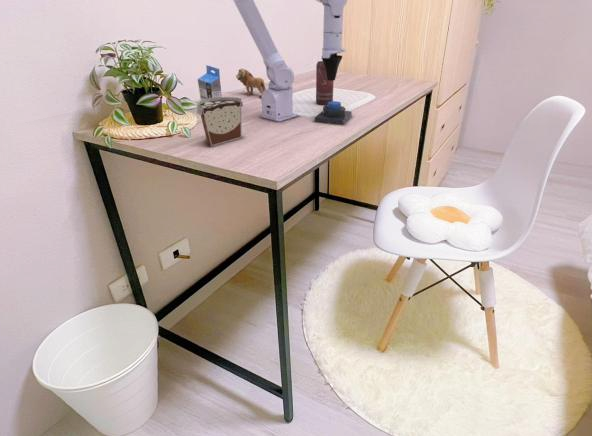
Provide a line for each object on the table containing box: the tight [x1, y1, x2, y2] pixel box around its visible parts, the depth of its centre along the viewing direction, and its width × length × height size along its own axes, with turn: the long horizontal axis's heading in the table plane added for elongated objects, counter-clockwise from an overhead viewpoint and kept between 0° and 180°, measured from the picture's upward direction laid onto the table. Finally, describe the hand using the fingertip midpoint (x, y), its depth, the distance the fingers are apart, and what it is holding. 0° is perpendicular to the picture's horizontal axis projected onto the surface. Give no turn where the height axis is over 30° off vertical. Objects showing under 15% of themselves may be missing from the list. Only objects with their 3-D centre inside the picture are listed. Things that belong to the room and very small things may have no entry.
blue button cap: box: [328, 100, 342, 110], centre depth 114 cm, size 4×4×2 cm
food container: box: [196, 96, 244, 147], centre depth 94 cm, size 12×6×10 cm, turn 141°
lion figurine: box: [235, 68, 267, 96], centre depth 138 cm, size 15×5×9 cm, turn 62°
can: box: [315, 60, 335, 106], centre depth 130 cm, size 6×6×14 cm
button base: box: [314, 105, 353, 126], centre depth 116 cm, size 11×9×4 cm
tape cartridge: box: [197, 64, 223, 101], centre depth 121 cm, size 9×4×12 cm, turn 44°
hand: (331, 80), depth 117 cm, fingers closed
